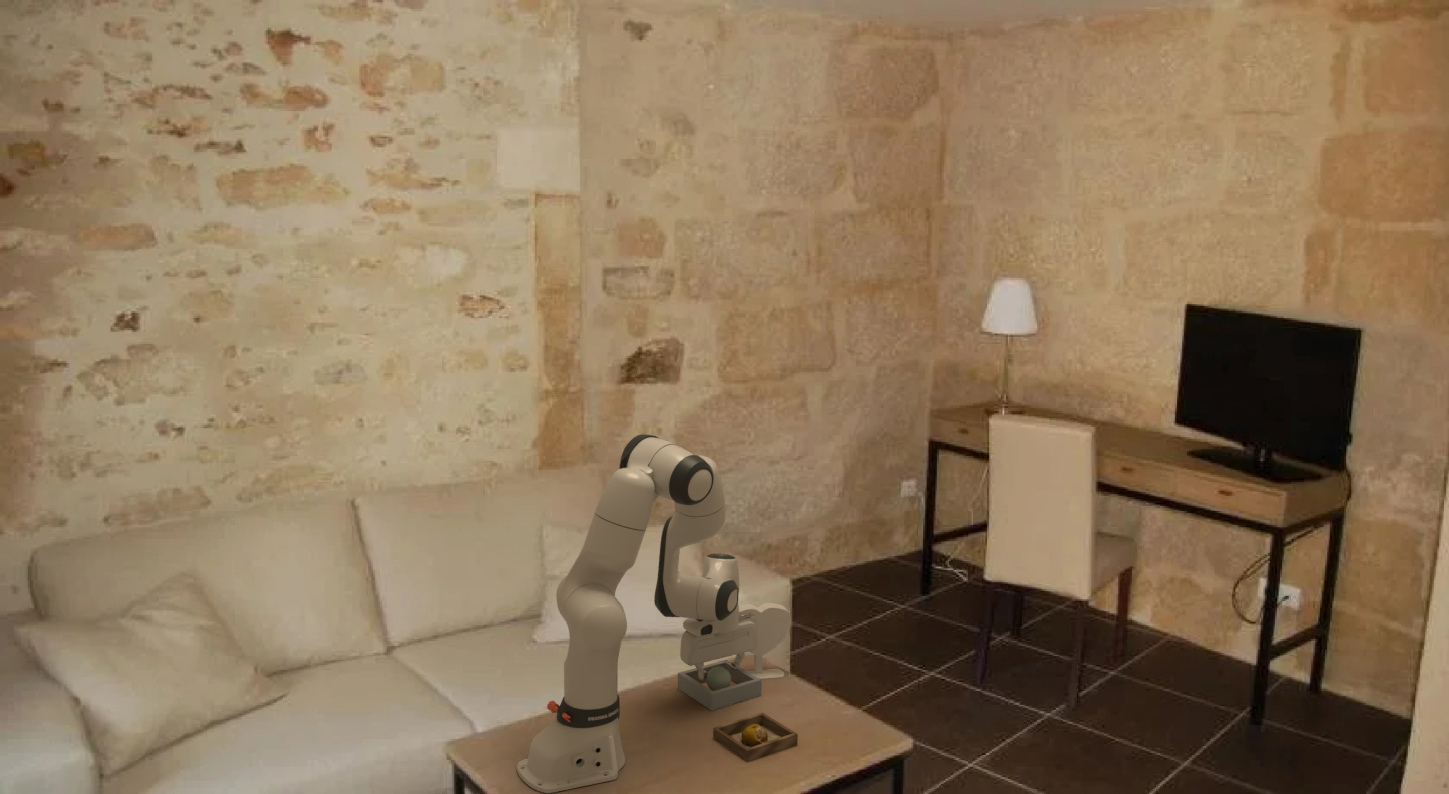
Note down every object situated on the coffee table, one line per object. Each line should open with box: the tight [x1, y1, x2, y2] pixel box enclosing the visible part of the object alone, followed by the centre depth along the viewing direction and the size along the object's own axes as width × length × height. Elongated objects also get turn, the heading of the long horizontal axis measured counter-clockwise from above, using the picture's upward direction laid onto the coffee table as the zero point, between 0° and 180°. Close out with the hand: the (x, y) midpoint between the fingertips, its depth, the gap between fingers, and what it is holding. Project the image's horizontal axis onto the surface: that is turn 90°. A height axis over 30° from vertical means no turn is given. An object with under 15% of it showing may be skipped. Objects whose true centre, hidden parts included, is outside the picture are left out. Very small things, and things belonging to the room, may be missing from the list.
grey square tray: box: [677, 659, 762, 711], centre depth 270 cm, size 14×14×4 cm
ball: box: [706, 666, 731, 691], centre depth 270 cm, size 6×6×6 cm
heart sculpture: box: [739, 602, 792, 680], centre depth 279 cm, size 16×5×18 cm, turn 102°
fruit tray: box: [712, 712, 799, 763], centre depth 245 cm, size 14×13×2 cm
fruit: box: [740, 724, 781, 748], centre depth 245 cm, size 8×8×4 cm
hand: (719, 674), depth 269 cm, fingers open, 8 cm apart
